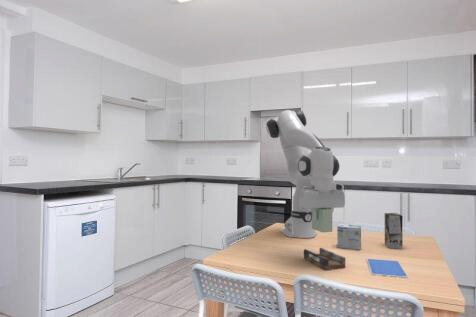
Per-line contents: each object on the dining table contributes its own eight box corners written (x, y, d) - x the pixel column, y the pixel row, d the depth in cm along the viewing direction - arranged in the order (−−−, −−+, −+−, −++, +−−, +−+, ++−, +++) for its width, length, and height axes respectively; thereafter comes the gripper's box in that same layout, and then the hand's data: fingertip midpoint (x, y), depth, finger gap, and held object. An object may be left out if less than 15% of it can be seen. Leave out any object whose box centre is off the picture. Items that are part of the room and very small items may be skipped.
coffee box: (403, 249, 156) (403, 215, 156) (388, 248, 157) (388, 215, 157) (397, 244, 165) (397, 212, 165) (384, 243, 166) (384, 212, 166)
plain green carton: (322, 232, 129) (322, 210, 129) (311, 228, 137) (311, 207, 137) (332, 231, 131) (332, 209, 131) (321, 227, 138) (321, 206, 139)
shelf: (303, 258, 139) (303, 249, 140) (321, 256, 143) (321, 247, 143) (325, 270, 124) (325, 260, 125) (345, 267, 128) (345, 257, 128)
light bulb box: (361, 247, 160) (361, 225, 160) (360, 250, 154) (360, 227, 154) (338, 244, 164) (338, 223, 164) (337, 247, 158) (337, 225, 158)
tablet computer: (408, 280, 116) (408, 276, 116) (371, 276, 120) (371, 273, 120) (398, 264, 135) (398, 260, 135) (366, 261, 138) (366, 258, 138)
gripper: (304, 186, 128) (304, 221, 127) (347, 185, 135) (347, 219, 134) (296, 185, 134) (296, 219, 133) (337, 184, 140) (337, 216, 140)
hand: (322, 219), depth 134 cm, fingers closed on plain green carton, 5 cm apart
